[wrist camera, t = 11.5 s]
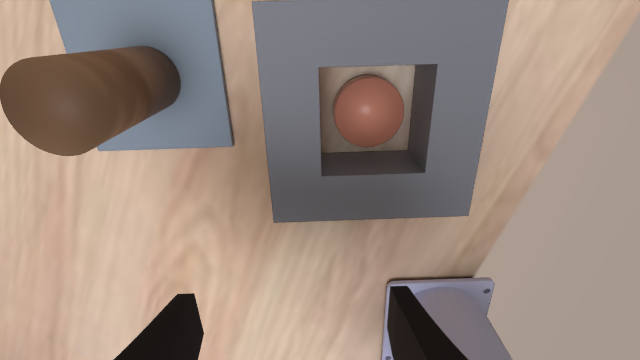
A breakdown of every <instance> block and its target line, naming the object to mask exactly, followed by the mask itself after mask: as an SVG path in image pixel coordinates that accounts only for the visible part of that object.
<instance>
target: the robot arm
mask: <svg viewBox="0 0 640 360" xmlns="http://www.w3.org/2000/svg"><path fill="white" fill-rule="evenodd" d="M485 289H486V290H485ZM493 289H494V282H493V281H492V279H491V278H461V279H433V280H406V281H391V282H389V283H388V284H387V290H386V303H385V317H384V330H383V343H382V356H381V360H512V358H511V357H510V355H509V353H508V351H507V350H506V348H505V346H504V345H503V343H502V341H501V339H500V338H499V336H498V334H497V333H496V331H495V329H494V328H493V326H492V324H491V323H490V321H489V319H488V318H487V312H488V308H489V304H490V301H491V297H492V293H493ZM203 335H204V332H203V328H202V324H201V320H200V316H199V312H198V307H197V303H196V299H195V295H194V294H177V295H176V296H175V297H174V298H173V299H172V300H171V301H170V302H169V303H168V305H167V306H166V307H165V308H164V309H163V310H162V311H161V312H160V313H159V314H158V315H157V316H156V317H155V318H154V320H153V321H152V322H151V323H150V324H149V325H148V326H147V327H146V328H145V329H144V330H143V331H142V332H141V333H140V334H139V335H138V336H137V337H136V338H135V339H134V340H133V341H132V342H131V343H130V344H129V345H128V346H127V347H126V348H125V349H124V350H123V351H122V352H121V353H120V354H119V355H118V356H117V357H116V358H115V359H114V360H198V356H199V352H200V348H201V344H202V339H203Z"/></svg>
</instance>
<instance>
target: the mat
mask: <svg viewBox="0 0 640 360" xmlns="http://www.w3.org/2000/svg"><path fill="white" fill-rule="evenodd" d="M49 1H50V4H51V7H52V10H53V13H54V16H55V19H56V22H57V25H58V28H59V31H60V34H61V37H62V40H63V44H64V47H65V50H66V53H67V54H69V53H78V52H88V51H97V50H106V49H116V48H125V47H134V46H149V47H153V48H155V49H158V50H160V51H161V52H163V53H164V54H165V55H167V56H168V57H169V58H170V59H171V60H172V62H173V63H174V64H175V66H176V68H177V70H178V72H179V75H180V80H181V89H180V93H179V96H178V98H177V99H176V101H175V102H174V103H173V104H172V105H170V106H169V107H167V108H165V109H164V110H162V111H160V112H158V113H156V114H155V115H153V116H151V117H149V118H147V119H146V120H144V121H142V122H140V123H138V124H137V125H135V126H133V127H131V128H129V129H128V130H126V131H124V132H122V133H120V134H118V135H117V136H115V137H113V138H111V139H109V140H108V141H106V142H104V143H102V144H100V145H99V146H97V148H98V151H116V150H147V149H177V148H208V147H233V145H234V142H233V135H232V128H231V121H230V114H229V107H228V100H227V93H226V86H225V79H224V72H223V65H222V58H221V51H220V44H219V37H218V30H217V23H216V16H215V9H214V2H213V0H49Z"/></svg>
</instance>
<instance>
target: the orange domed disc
mask: <svg viewBox="0 0 640 360" xmlns="http://www.w3.org/2000/svg"><path fill="white" fill-rule="evenodd" d="M333 111H334V118H335V122H336V125H337V128H338V130H339V132H340V133H341V135H342V136H343V137H344V138H345V139H346V140H347V141H349V142H350V143H352V144H354V145H357V146H362V147H373V146H377V145H380V144H382V143H384V142H386V141H388V140H389V139H390V138H391V137H393V136H394V134H395V133H396V132H397V131H398V129H399V127H400V126H401V123H402V120H403V116H404V104H403V100H402V98H401V95H400V94H399V92H398V91H397V90H396V88H395V87H393V86H392V85H391V84H390V83H389V82H387V81H386V80H384V79H382V78H380V77H378V76H373V75H363V76H359V77H356V78H353V79H352V80H350V81H348V82H347V83H346V84H345V85H344V86H343V87H342V88H341V89H340V91H339V92H338V94H337V96H336V98H335V101H334V109H333Z"/></svg>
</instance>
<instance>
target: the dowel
mask: <svg viewBox="0 0 640 360" xmlns="http://www.w3.org/2000/svg"><path fill="white" fill-rule="evenodd" d="M180 89H181V80H180V75H179V72H178V70H177V68H176V66H175V64H174V63H173V62H172V60H171V59H170V58H169V57H168V56H167V55H165V54H164V53H163V52H161V51H160V50H158V49H155V48H153V47H149V46H134V47H125V48H116V49H106V50H97V51H88V52H78V53H69V54H60V55H50V56H41V57H31V58H26V59H22V60H20V61H18V62H16V63H14V64H13V65H11V66H10V67H9V68H8V69H7V71H6V72H5V73H4V75H3V77H2V80H1V83H0V100H1V104H2V108H3V110H4V113H5V115H6V117H7V119H8V120H9V122H10V123H11V125H12V126H13V127H14V129H15V130H16V131H17V132H18V133H19V134H20V135H21V136H22V137H23V138H24V139H26V140H27V141H28V142H29V143H31V144H33V145H34V146H36V147H38V148H39V149H41V150H44V151H46V152H49V153H52V154H56V155H61V156H75V155H80V154H83V153H86V152H88V151H90V150H91V149H93V148H95V147H97V146H99V145H100V144H102V143H104V142H106V141H108V140H109V139H111V138H113V137H115V136H117V135H118V134H120V133H122V132H124V131H126V130H128V129H129V128H131V127H133V126H135V125H137V124H138V123H140V122H142V121H144V120H146V119H147V118H149V117H151V116H153V115H155V114H156V113H158V112H160V111H162V110H164V109H165V108H167V107H169V106H170V105H172V104H173V103H174V102H175V101H176V99H177V98H178V96H179V93H180Z"/></svg>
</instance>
